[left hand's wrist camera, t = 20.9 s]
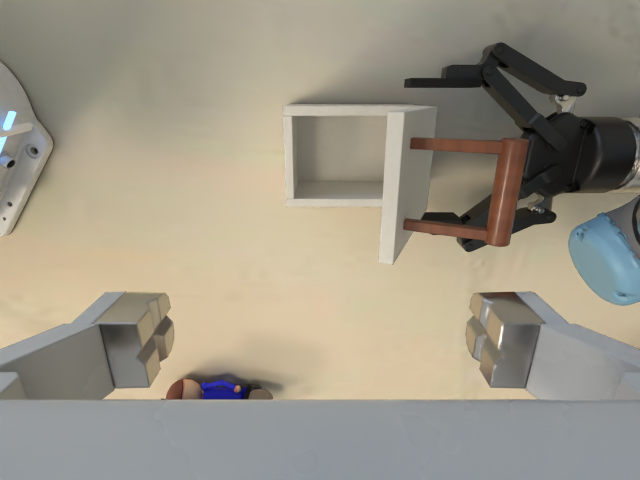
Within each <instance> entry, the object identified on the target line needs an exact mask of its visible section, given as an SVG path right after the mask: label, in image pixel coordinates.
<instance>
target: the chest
mask: <svg viewBox="0 0 640 480" xmlns="http://www.w3.org/2000/svg"><path fill="white" fill-rule="evenodd" d="M419 107H426V106H421V105H410V104H289V105H285V106H283V134H284V166H285V198H286V207H382V199H383V183H384V167H385V150H386V134H387V118H388V112H390V111H397V110H404V109H412V108H419Z"/></svg>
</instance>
